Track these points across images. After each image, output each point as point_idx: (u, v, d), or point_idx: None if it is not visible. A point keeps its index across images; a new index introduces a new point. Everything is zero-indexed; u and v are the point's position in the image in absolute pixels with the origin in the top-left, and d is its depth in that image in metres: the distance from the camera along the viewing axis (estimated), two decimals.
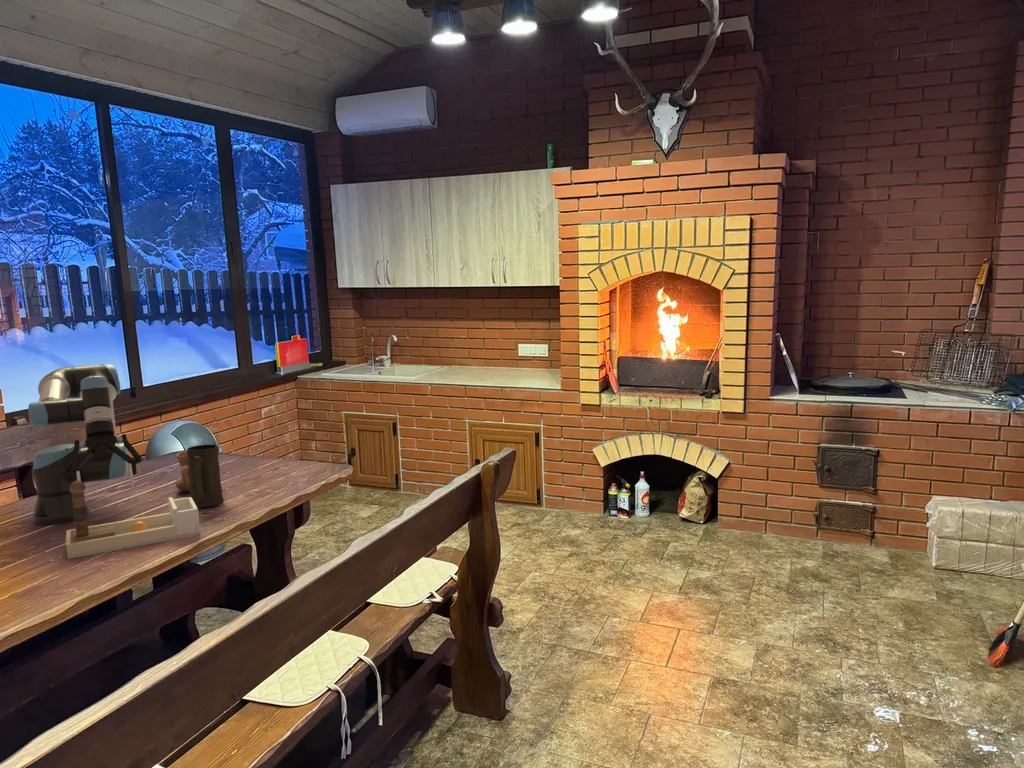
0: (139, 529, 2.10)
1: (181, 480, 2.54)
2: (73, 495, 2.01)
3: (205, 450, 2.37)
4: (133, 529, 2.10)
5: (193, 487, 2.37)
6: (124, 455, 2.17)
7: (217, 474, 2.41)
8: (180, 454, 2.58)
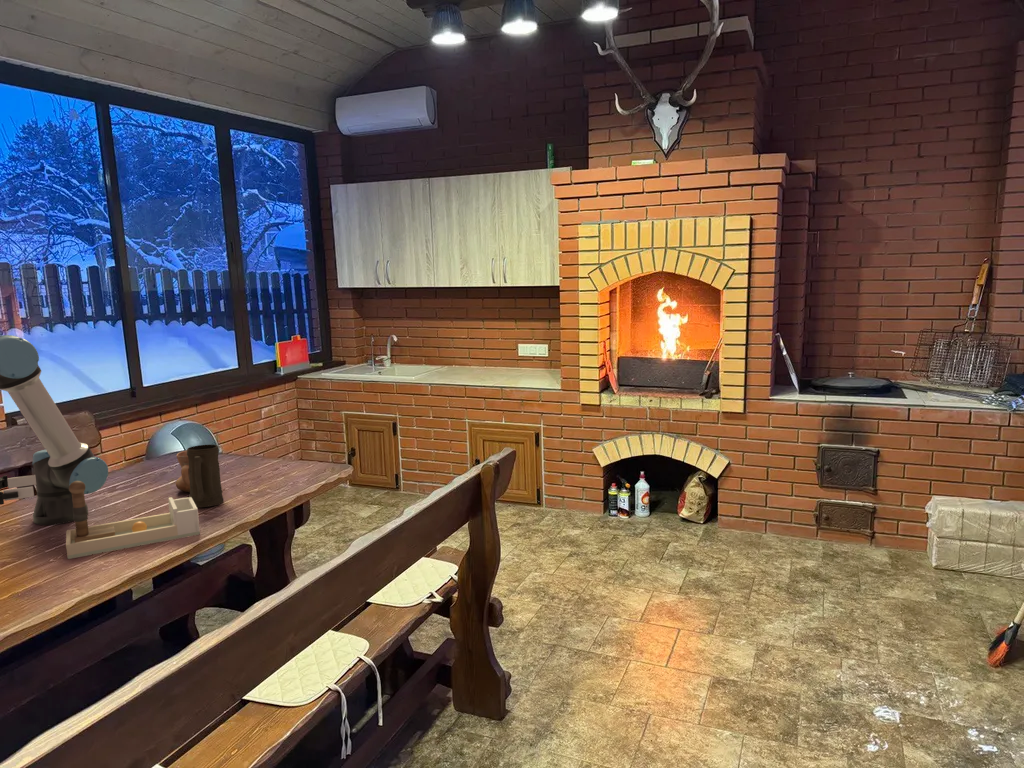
0: (139, 529, 2.10)
1: (181, 480, 2.54)
2: (73, 495, 2.01)
3: (205, 450, 2.37)
4: (133, 529, 2.10)
5: (193, 487, 2.37)
6: None
7: (217, 474, 2.41)
8: (180, 454, 2.58)
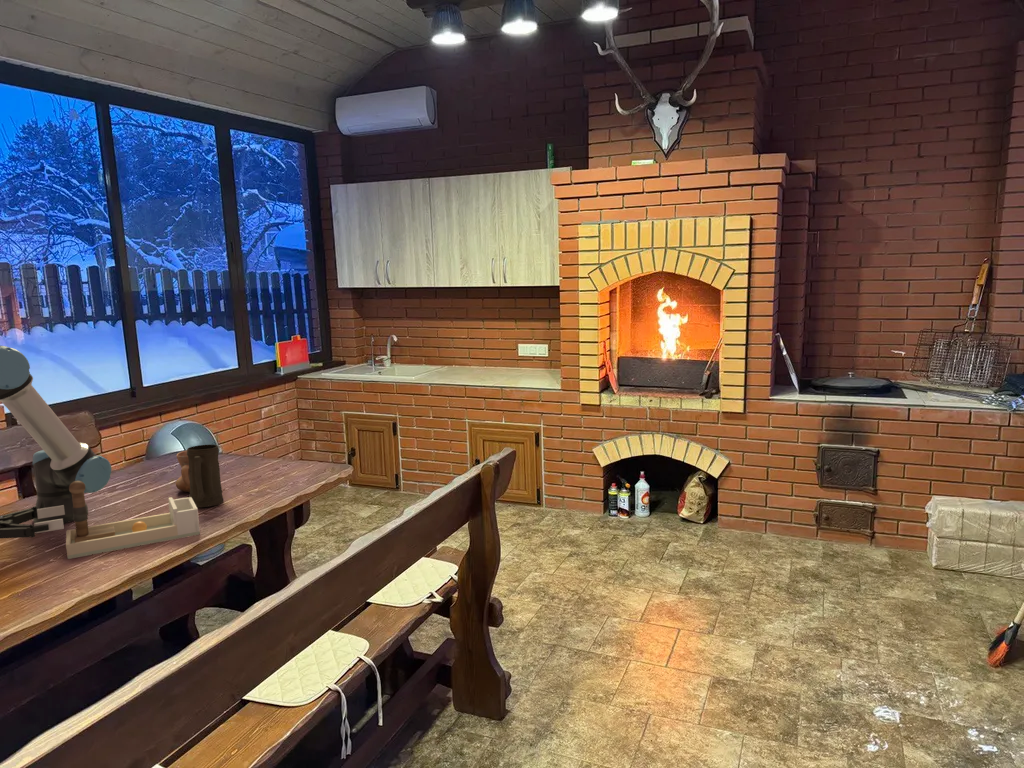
0: (139, 529, 2.10)
1: (181, 480, 2.54)
2: (73, 495, 2.01)
3: (205, 450, 2.37)
4: (133, 529, 2.10)
5: (193, 487, 2.37)
6: None
7: (217, 474, 2.41)
8: (180, 454, 2.58)
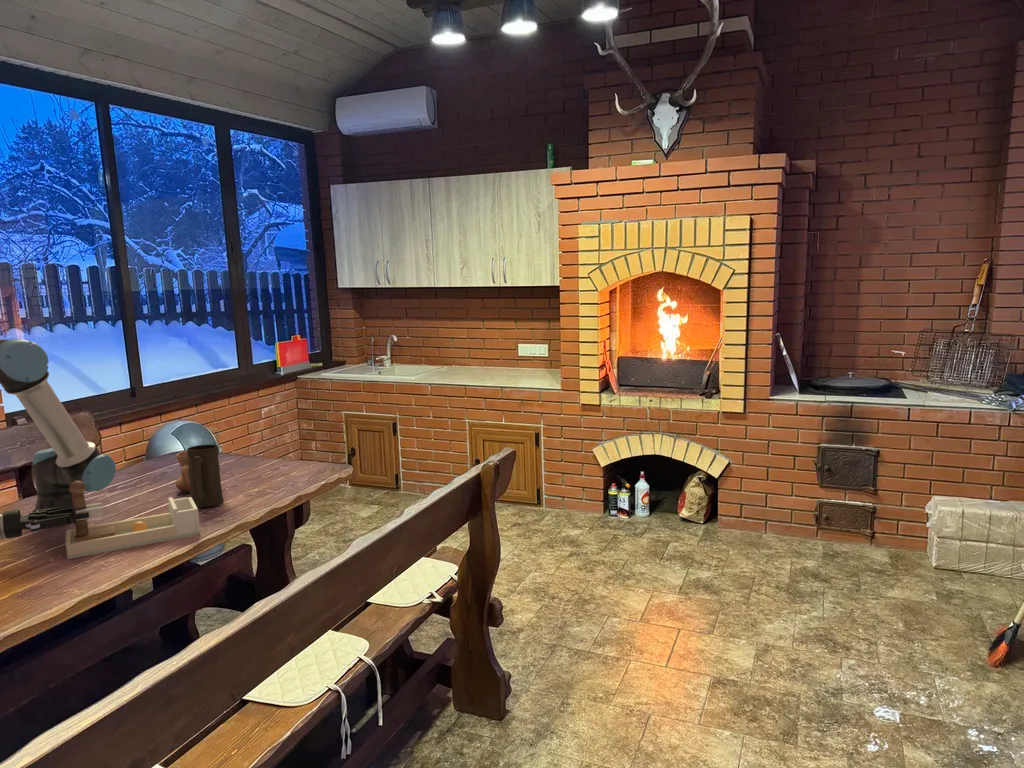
0: (139, 529, 2.10)
1: (181, 480, 2.54)
2: (73, 495, 2.01)
3: (205, 450, 2.37)
4: (133, 529, 2.10)
5: (193, 487, 2.37)
6: None
7: (217, 474, 2.41)
8: (180, 454, 2.58)
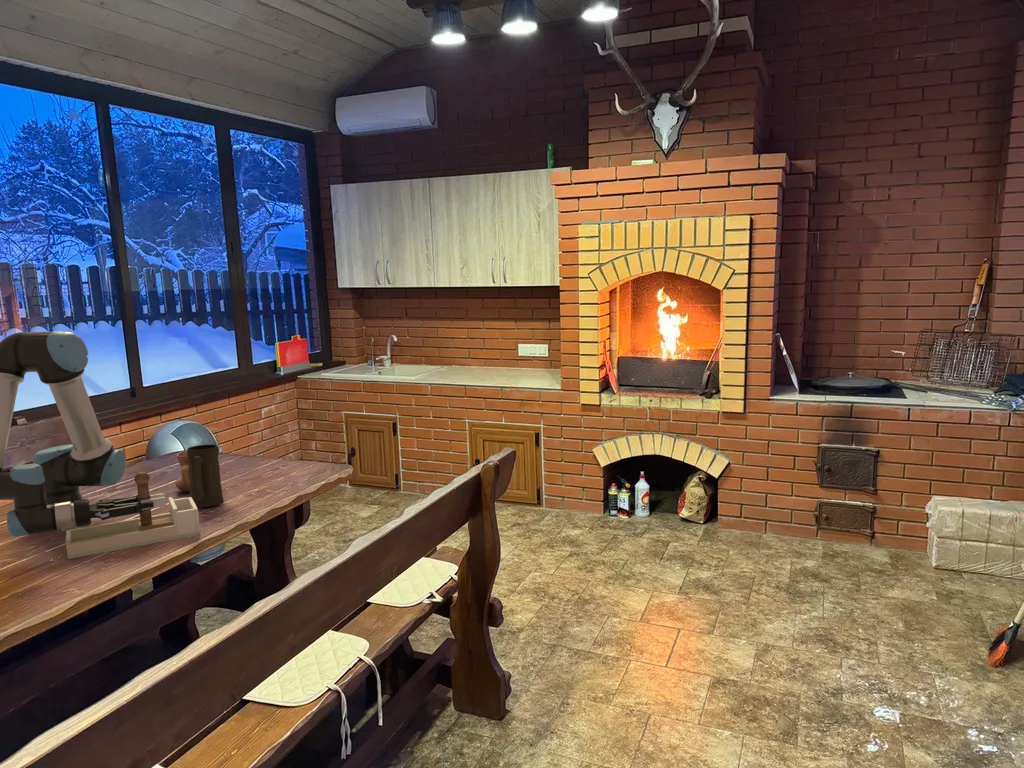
0: None
1: (181, 480, 2.54)
2: (138, 485, 2.09)
3: (205, 450, 2.37)
4: None
5: (193, 487, 2.37)
6: None
7: (217, 474, 2.41)
8: (180, 454, 2.58)
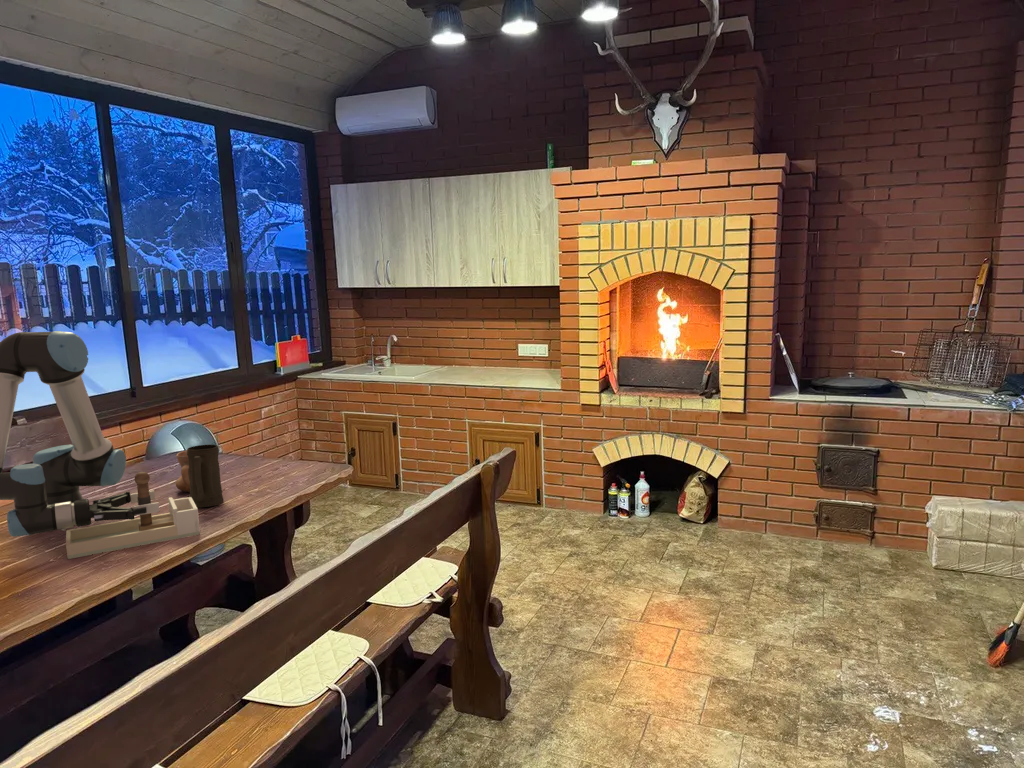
0: None
1: (181, 480, 2.54)
2: (138, 485, 2.09)
3: (205, 450, 2.37)
4: None
5: (193, 487, 2.37)
6: None
7: (217, 474, 2.41)
8: (180, 454, 2.58)
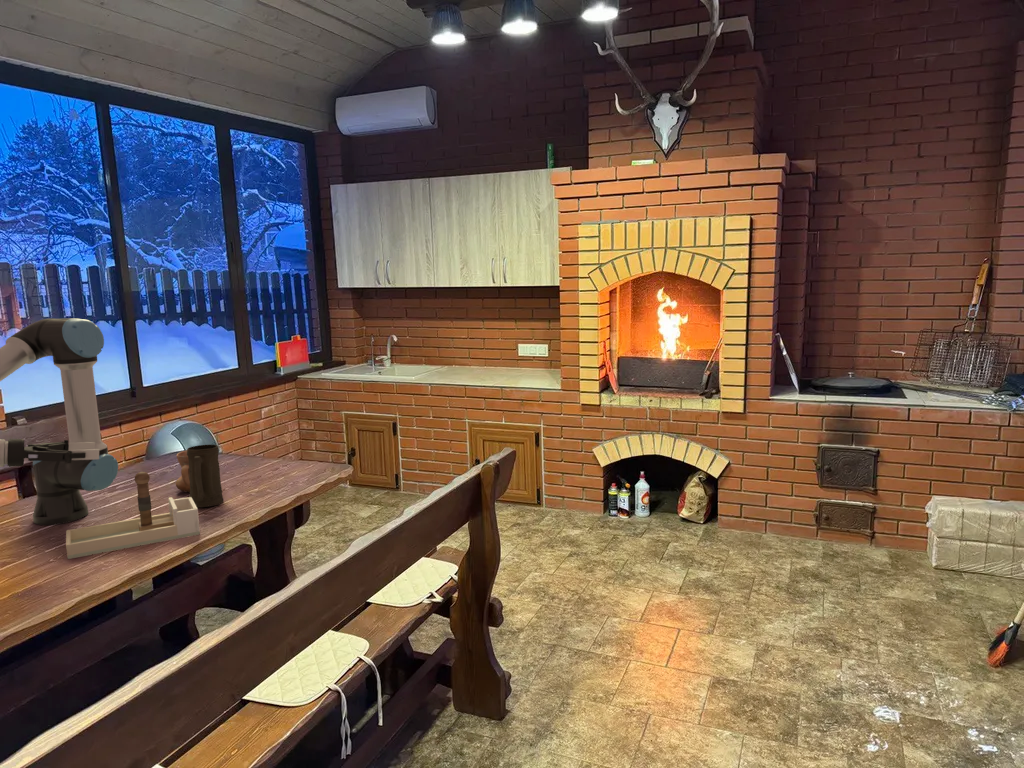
0: None
1: (181, 480, 2.54)
2: (138, 485, 2.09)
3: (205, 450, 2.37)
4: None
5: (193, 487, 2.37)
6: None
7: (217, 474, 2.41)
8: (180, 454, 2.58)
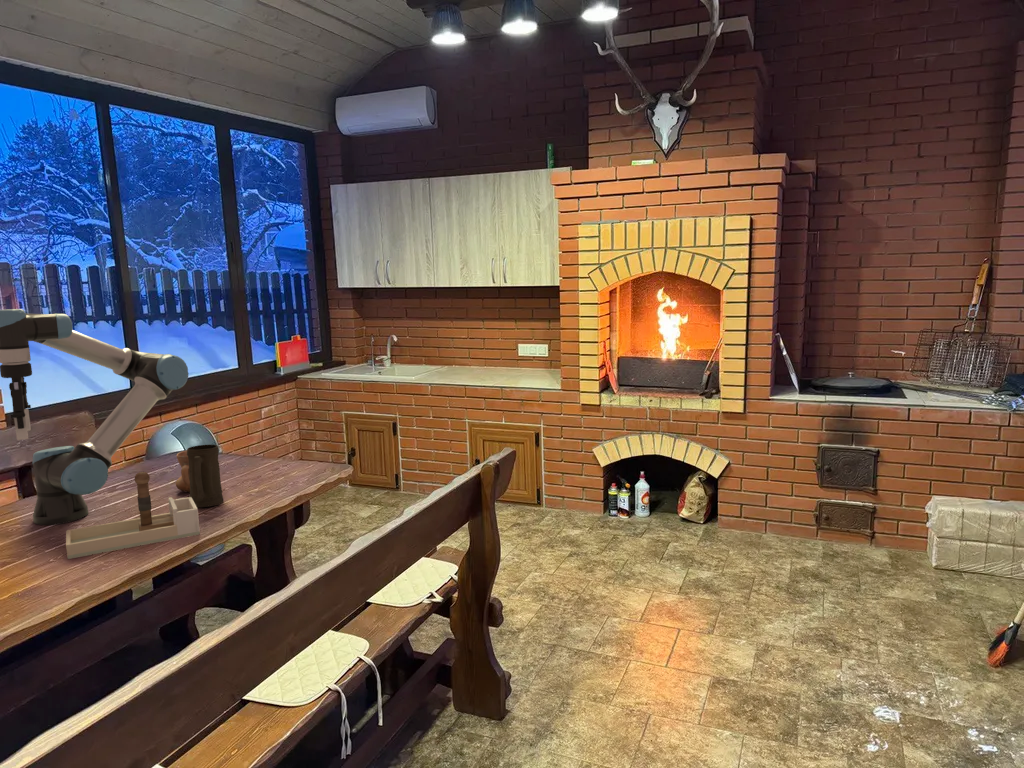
0: None
1: (181, 480, 2.54)
2: (138, 485, 2.09)
3: (205, 450, 2.37)
4: None
5: (193, 487, 2.37)
6: None
7: (217, 474, 2.41)
8: (180, 454, 2.58)
